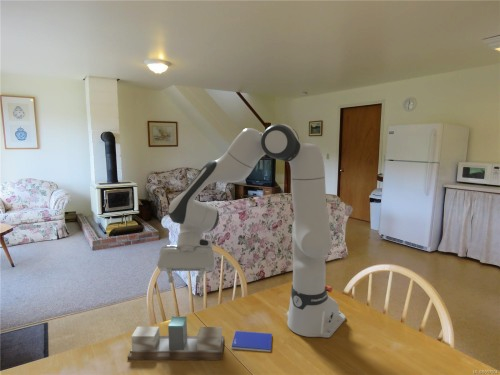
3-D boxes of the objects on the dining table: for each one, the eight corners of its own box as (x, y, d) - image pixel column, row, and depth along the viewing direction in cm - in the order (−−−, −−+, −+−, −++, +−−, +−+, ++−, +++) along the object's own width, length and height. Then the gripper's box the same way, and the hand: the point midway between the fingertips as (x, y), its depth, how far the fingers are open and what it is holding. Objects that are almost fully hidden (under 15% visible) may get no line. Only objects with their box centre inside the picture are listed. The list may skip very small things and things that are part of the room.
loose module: (187, 339, 101) (186, 316, 100) (183, 349, 96) (183, 325, 95) (173, 339, 101) (172, 316, 100) (169, 349, 96) (168, 325, 95)
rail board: (224, 338, 104) (223, 322, 103) (221, 359, 94) (220, 341, 93) (139, 338, 104) (138, 322, 103) (127, 359, 94) (126, 341, 93)
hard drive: (231, 345, 99) (270, 348, 97) (235, 330, 107) (271, 332, 106) (231, 350, 99) (270, 353, 98) (235, 334, 107) (271, 337, 106)
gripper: (159, 241, 113) (151, 279, 105) (215, 241, 113) (212, 279, 105) (162, 249, 119) (156, 285, 110) (217, 249, 118) (214, 285, 110)
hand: (184, 282), depth 108 cm, fingers open, 8 cm apart
